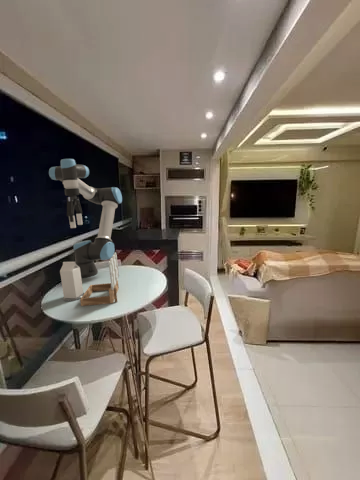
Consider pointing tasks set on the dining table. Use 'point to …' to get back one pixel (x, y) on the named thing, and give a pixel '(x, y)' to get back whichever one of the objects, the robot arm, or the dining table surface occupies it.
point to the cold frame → (104, 287)
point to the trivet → (73, 298)
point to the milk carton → (71, 280)
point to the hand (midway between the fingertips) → (77, 226)
